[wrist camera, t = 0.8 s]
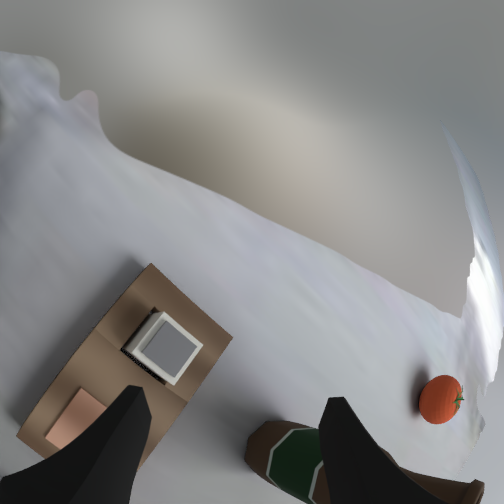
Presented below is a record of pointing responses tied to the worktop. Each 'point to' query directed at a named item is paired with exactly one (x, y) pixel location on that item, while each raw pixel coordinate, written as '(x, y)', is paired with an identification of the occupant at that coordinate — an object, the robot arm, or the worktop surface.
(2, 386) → the worktop surface
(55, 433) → the brown wooden flat block
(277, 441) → the beer bottle
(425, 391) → the tomato
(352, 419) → the robot arm
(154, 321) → the plug
